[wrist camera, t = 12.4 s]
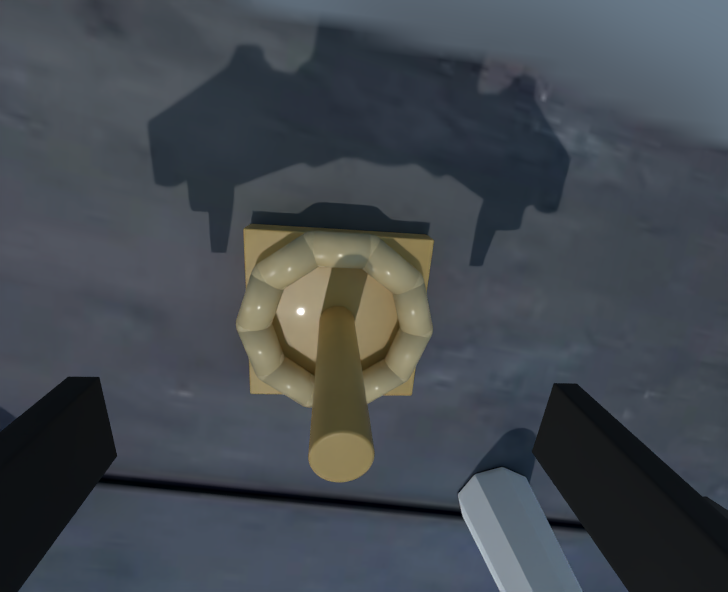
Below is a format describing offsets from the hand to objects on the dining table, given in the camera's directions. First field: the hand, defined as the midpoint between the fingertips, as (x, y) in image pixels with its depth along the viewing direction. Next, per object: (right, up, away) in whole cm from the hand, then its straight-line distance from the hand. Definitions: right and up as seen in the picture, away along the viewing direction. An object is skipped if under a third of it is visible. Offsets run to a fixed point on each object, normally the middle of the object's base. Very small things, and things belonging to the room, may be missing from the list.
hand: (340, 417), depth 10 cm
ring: (-1, +2, +7) cm, 7 cm away
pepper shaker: (+10, -11, +15) cm, 21 cm away
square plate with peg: (-1, +3, +9) cm, 9 cm away
